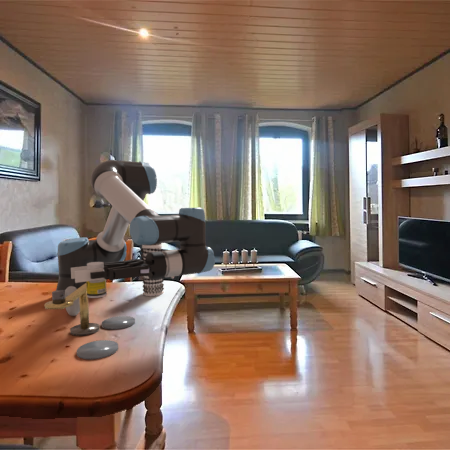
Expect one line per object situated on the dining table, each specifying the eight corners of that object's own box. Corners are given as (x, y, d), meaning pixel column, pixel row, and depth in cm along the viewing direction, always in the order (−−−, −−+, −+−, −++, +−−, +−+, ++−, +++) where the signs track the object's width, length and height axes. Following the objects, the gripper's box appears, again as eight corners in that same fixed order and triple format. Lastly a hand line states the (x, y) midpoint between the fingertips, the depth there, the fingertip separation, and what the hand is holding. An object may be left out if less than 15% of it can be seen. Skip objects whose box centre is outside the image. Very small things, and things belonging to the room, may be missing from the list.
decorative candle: (138, 295, 143) (136, 234, 142) (147, 290, 153) (145, 232, 151) (160, 296, 142) (158, 234, 140) (167, 290, 151) (165, 232, 150)
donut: (63, 313, 122) (61, 284, 122) (73, 311, 125) (72, 283, 124) (72, 320, 115) (70, 289, 114) (83, 317, 117) (81, 288, 116)
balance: (39, 346, 94) (35, 285, 93) (101, 316, 119) (99, 267, 117) (63, 350, 91) (60, 287, 90) (122, 318, 116) (120, 268, 115)
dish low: (67, 356, 87) (67, 353, 87) (94, 341, 97) (94, 338, 97) (101, 361, 84) (101, 358, 84) (126, 345, 94) (125, 342, 94)
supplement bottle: (90, 293, 92) (88, 261, 92) (108, 293, 92) (107, 261, 92) (84, 298, 87) (82, 265, 87) (104, 297, 88) (102, 264, 87)
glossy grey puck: (94, 327, 108) (94, 325, 107) (114, 317, 117) (114, 314, 117) (123, 330, 104) (122, 328, 104) (141, 319, 114) (141, 317, 114)
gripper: (176, 283, 92) (80, 298, 79) (151, 272, 107) (68, 283, 94) (175, 254, 91) (79, 264, 79) (150, 248, 106) (66, 255, 94)
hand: (73, 275), depth 87 cm, fingers closed on supplement bottle, 5 cm apart
